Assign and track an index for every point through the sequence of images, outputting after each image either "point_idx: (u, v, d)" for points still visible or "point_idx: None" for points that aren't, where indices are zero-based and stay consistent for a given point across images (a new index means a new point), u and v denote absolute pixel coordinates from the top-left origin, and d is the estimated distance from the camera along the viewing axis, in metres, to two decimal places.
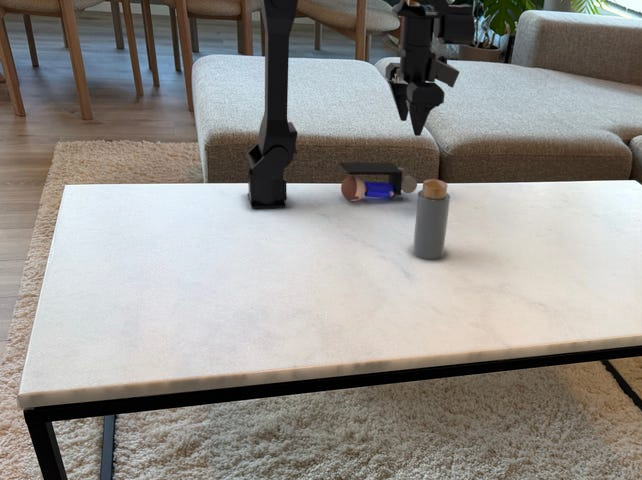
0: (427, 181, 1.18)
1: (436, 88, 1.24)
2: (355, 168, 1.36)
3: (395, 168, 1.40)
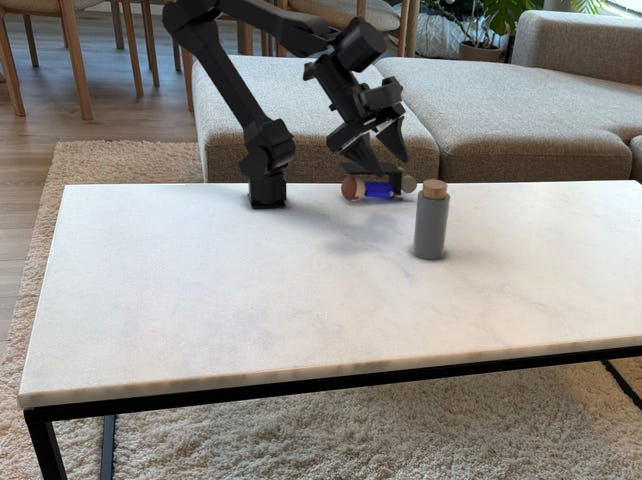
0: (427, 181, 1.18)
1: (340, 126, 1.10)
2: (355, 168, 1.36)
3: (395, 168, 1.40)
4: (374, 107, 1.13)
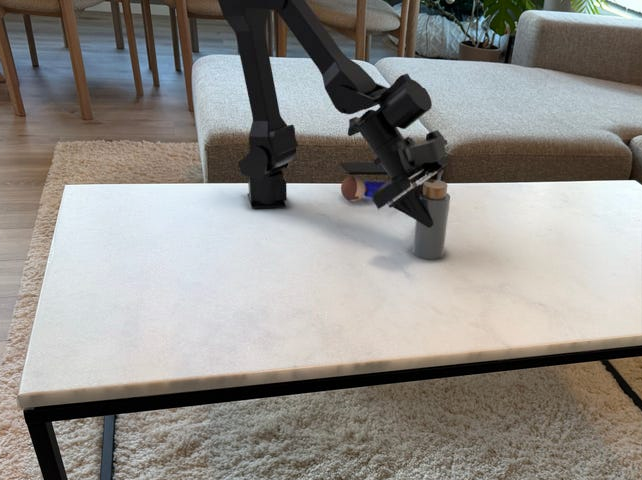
0: (427, 181, 1.18)
1: (386, 183, 1.11)
2: (355, 168, 1.36)
3: None
4: (419, 162, 1.14)
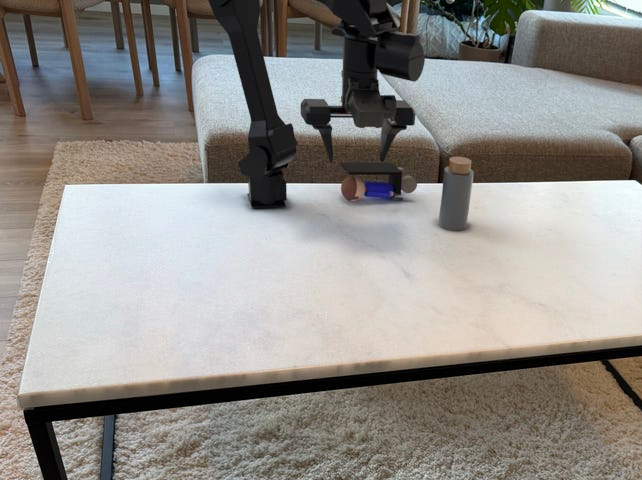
0: (452, 159, 1.29)
1: (307, 105, 1.12)
2: (355, 168, 1.36)
3: (395, 168, 1.40)
4: (351, 113, 1.12)
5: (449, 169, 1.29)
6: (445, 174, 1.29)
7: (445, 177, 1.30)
